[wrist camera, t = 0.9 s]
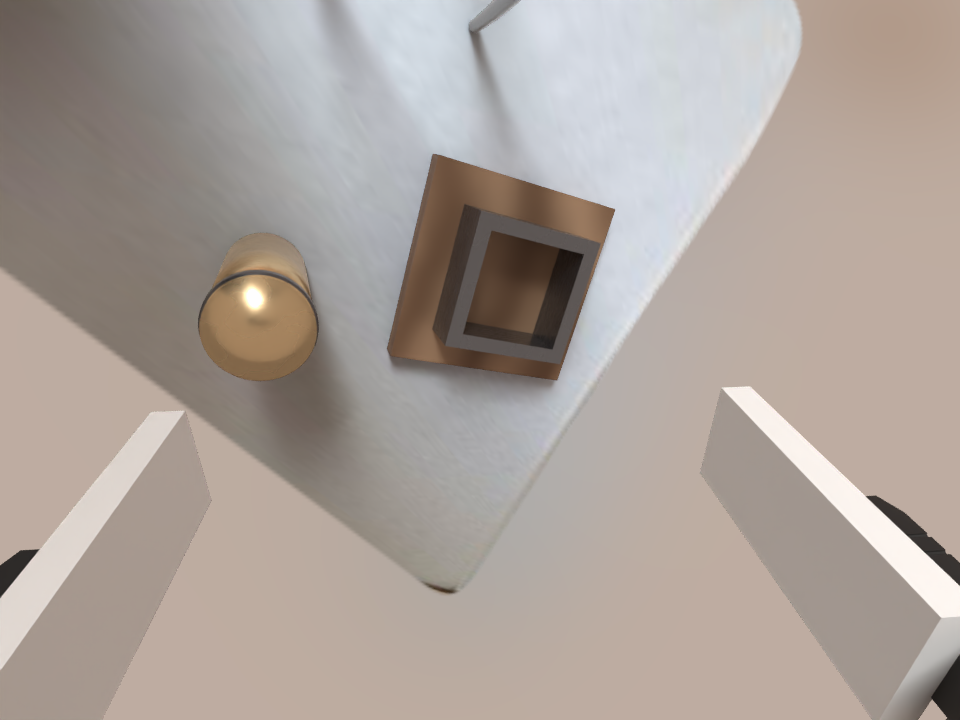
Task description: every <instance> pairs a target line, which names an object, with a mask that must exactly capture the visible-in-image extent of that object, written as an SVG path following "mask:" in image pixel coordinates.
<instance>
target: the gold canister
mask: <svg viewBox="0 0 960 720" xmlns="http://www.w3.org/2000/svg"><path fill="white" fill-rule="evenodd" d="M198 328H199V334H200V338H201V341H202V344H203V347H204V349H205V351H206V352H207V354H208V356H209V357H210V358H211V359H212V360H213V362H215V363H216V364H217V365H218V366H219V367H220V368H222V369H223V370H224V371H226V372H228V373H230V374H232V375H234V376H236V377H239V378H243V379H247V380H254V381H266V380H273V379H277V378H281V377H283V376H286V375H288V374H290V373H292V372H293V371H295V370H296V369H298V368H299V367H300V366H301V365H302V364H303V363H304V362H305V361H306V360H307V359H308V357H309V356H310V354H311V352H312V350H313V348H314V346H315V344H316V341H317V337H318V318H317V313H316V310H315V306H314V304H313V302H312V298H311V293H310V288H309V283H308V278H307V272H306V267H305V263H304V260H303V258H302V256H301V254H300V253H299V251H298V250H297V249H296V247H295V246H294V245H293V244H291V243H290V242H289V241H287V240H286V239H284V238H282V237H280V236H277V235H274V234H269V233H255V234H250V235H247V236H245V237H243V238H241V239H239V240H238V241H237V242H235V243H234V244H233V245H232V246H231V248H230V249H229V251H228V252H227V254H226V257H225V259H224V261H223V264H222V266H221V268H220V271H219V273H218V275H217V278H216V280H215V282H214V285H213V287H212V289H211V290H210V292H209V293H208V294H207V296H206V298H205V300H204V302H203V304H202V307H201V310H200V313H199V318H198Z"/></svg>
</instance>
